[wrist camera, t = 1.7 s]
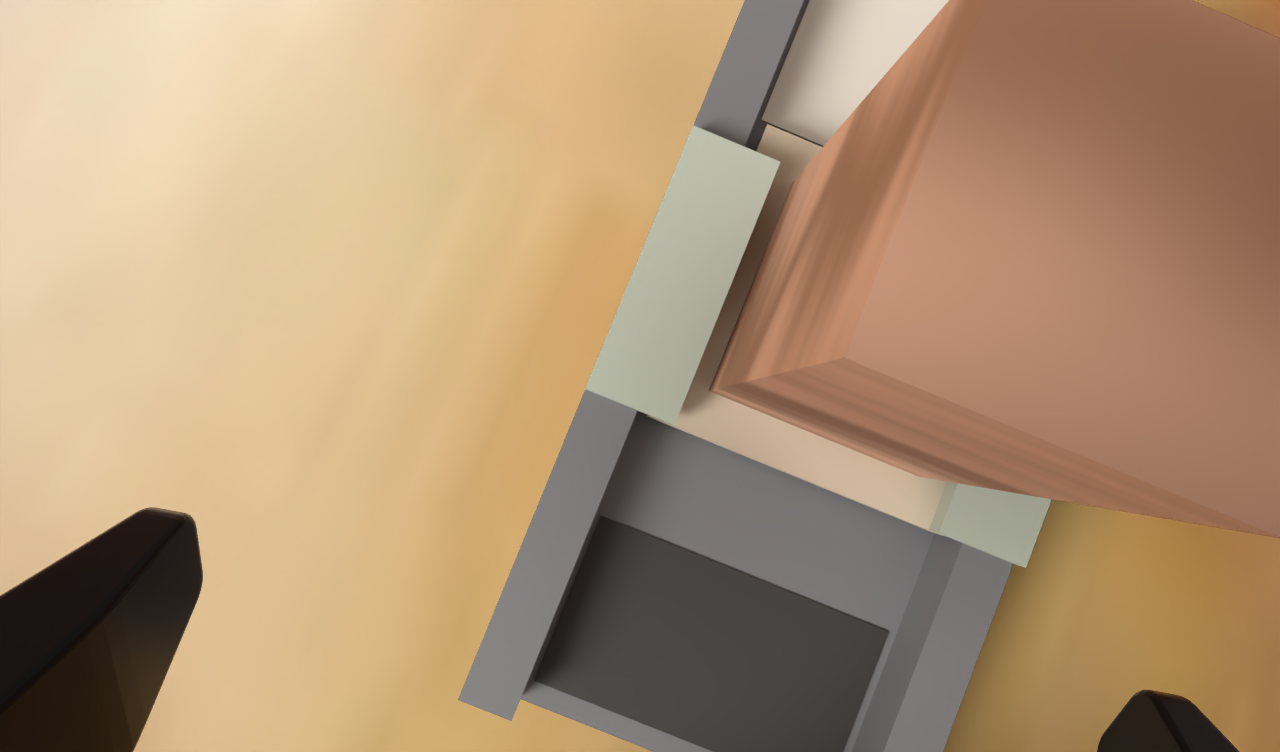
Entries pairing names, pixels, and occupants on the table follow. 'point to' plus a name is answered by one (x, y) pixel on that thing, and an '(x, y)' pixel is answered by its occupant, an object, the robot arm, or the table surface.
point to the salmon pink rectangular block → (1024, 273)
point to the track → (741, 485)
